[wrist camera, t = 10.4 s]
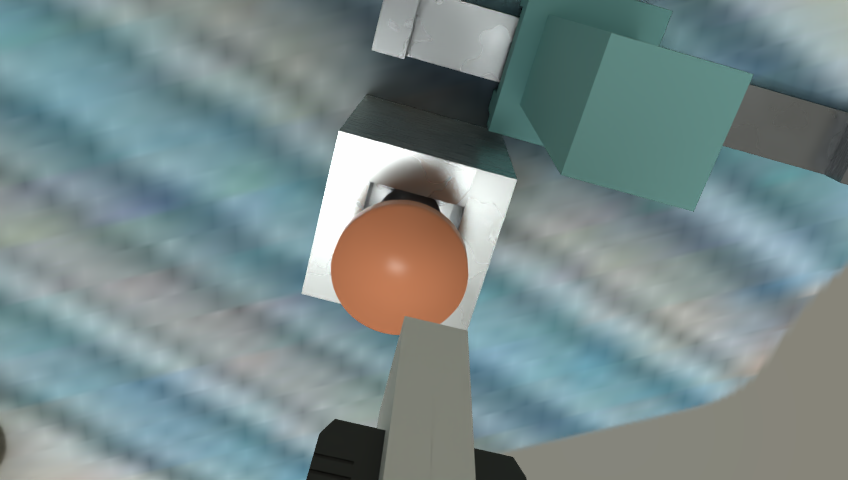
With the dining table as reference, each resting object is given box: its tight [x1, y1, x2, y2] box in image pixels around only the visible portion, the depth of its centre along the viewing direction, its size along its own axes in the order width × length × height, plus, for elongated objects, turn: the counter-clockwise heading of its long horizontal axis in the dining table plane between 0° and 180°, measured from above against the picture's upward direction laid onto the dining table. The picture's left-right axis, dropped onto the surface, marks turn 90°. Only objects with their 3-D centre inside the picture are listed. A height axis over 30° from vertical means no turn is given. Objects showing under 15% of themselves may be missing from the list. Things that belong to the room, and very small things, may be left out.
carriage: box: [487, 0, 754, 212], centre depth 26 cm, size 7×6×15 cm
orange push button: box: [331, 189, 468, 335], centre depth 27 cm, size 5×5×6 cm
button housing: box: [302, 95, 517, 330], centre depth 31 cm, size 7×7×9 cm
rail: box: [372, 0, 848, 185], centre depth 32 cm, size 3×24×3 cm, turn 75°
